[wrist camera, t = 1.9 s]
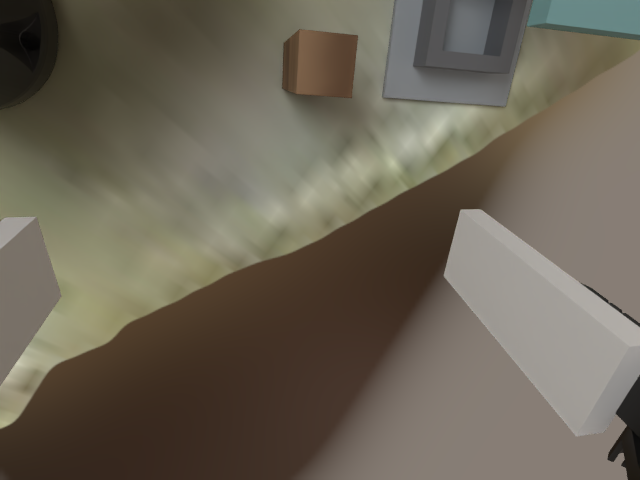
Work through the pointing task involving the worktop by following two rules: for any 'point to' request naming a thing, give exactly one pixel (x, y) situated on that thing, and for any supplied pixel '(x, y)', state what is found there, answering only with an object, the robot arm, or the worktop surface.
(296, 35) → the peg
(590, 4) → the awning socket
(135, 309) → the worktop surface
